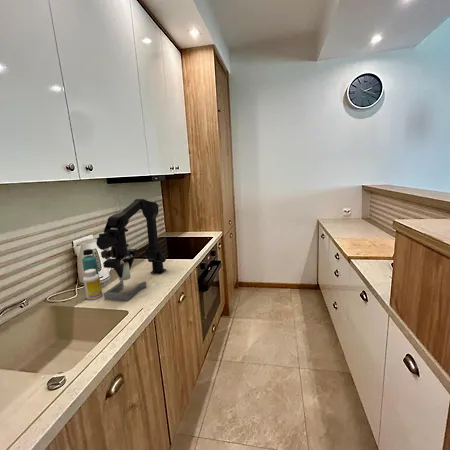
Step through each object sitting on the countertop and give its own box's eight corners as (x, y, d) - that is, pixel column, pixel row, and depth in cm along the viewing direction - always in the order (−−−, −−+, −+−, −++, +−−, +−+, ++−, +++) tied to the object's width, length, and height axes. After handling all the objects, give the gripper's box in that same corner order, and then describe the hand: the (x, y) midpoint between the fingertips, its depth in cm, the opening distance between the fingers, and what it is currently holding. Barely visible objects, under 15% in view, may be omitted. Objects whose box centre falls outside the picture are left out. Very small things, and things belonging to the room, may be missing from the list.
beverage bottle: (85, 292, 126) (78, 252, 122) (88, 286, 132) (81, 248, 128) (99, 289, 127) (93, 250, 123) (102, 284, 134) (96, 247, 130)
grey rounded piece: (123, 275, 125) (121, 262, 123) (132, 276, 124) (130, 262, 122) (116, 280, 120) (114, 266, 118) (126, 280, 119) (124, 266, 117)
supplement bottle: (105, 295, 122) (101, 269, 119) (92, 301, 116) (87, 274, 113) (96, 292, 125) (92, 267, 122) (83, 298, 119) (78, 272, 117)
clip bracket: (121, 285, 131) (121, 280, 130) (146, 287, 127) (146, 281, 127) (102, 299, 117) (101, 293, 117) (129, 301, 114) (129, 295, 113)
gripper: (117, 237, 129) (121, 267, 132) (90, 249, 111) (95, 282, 114) (137, 237, 126) (141, 268, 130) (112, 249, 109) (117, 284, 112)
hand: (124, 275), depth 121 cm, fingers closed on grey rounded piece, 5 cm apart
